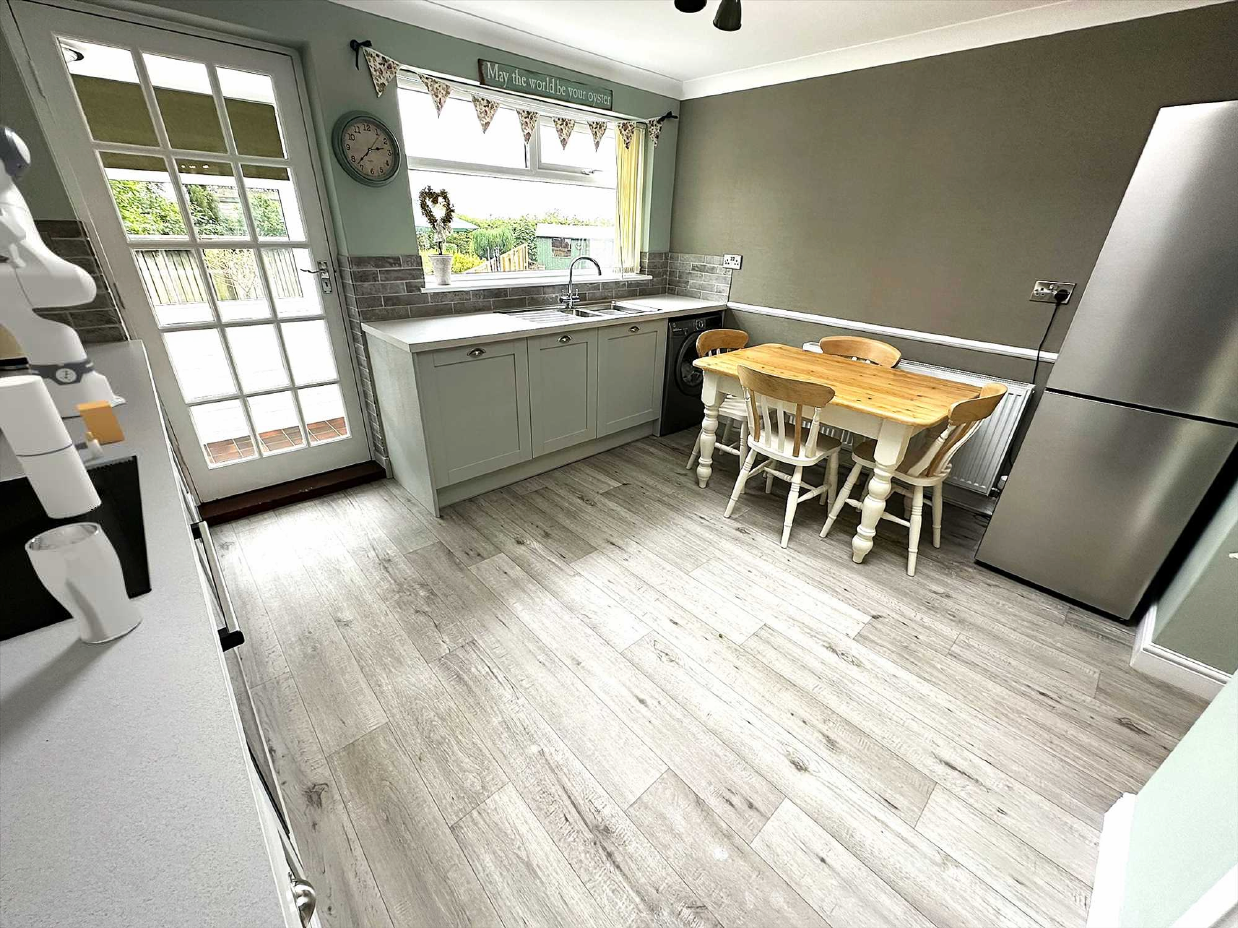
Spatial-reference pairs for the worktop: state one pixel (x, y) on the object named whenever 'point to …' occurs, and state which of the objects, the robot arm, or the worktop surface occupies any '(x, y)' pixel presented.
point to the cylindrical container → (44, 447)
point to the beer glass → (84, 579)
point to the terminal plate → (105, 455)
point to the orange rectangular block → (101, 421)
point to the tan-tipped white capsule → (93, 446)
